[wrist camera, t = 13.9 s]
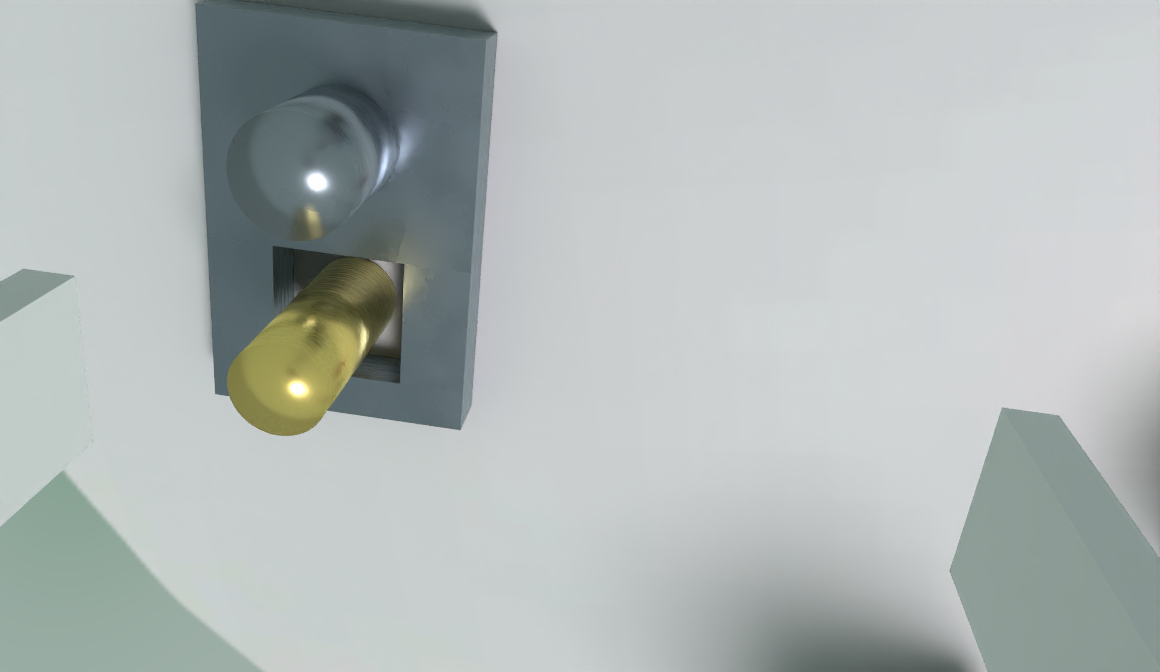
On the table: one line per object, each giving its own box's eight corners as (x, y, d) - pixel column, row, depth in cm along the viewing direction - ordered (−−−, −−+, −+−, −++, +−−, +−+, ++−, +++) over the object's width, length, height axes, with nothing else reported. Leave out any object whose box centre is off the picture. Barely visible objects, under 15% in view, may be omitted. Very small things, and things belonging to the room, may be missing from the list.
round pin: (315, 251, 47) (225, 337, 38) (398, 263, 47) (327, 352, 38) (315, 327, 49) (228, 427, 40) (395, 339, 48) (327, 442, 39)
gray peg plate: (222, -2, 43) (125, 18, 35) (497, 32, 42) (456, 61, 35) (236, 371, 50) (159, 452, 43) (471, 405, 49) (432, 493, 42)
